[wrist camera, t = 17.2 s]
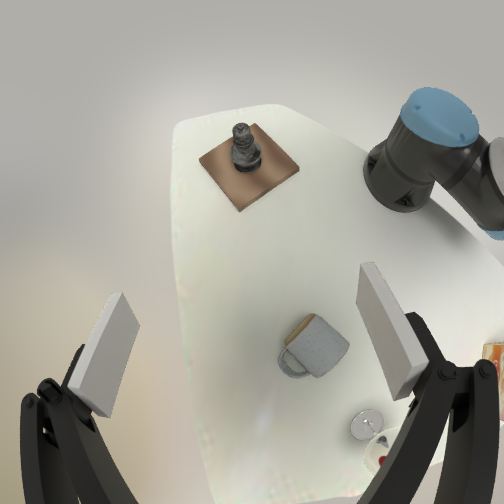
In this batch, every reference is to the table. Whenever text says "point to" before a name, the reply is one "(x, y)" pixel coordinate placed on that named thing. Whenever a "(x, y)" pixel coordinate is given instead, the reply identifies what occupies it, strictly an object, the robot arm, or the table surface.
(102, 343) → the robot arm
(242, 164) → the weathered metal finial
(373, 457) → the wineglass
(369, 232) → the table surface
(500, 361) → the coffeecake box
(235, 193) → the walnut board
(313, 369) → the ceramic mug
